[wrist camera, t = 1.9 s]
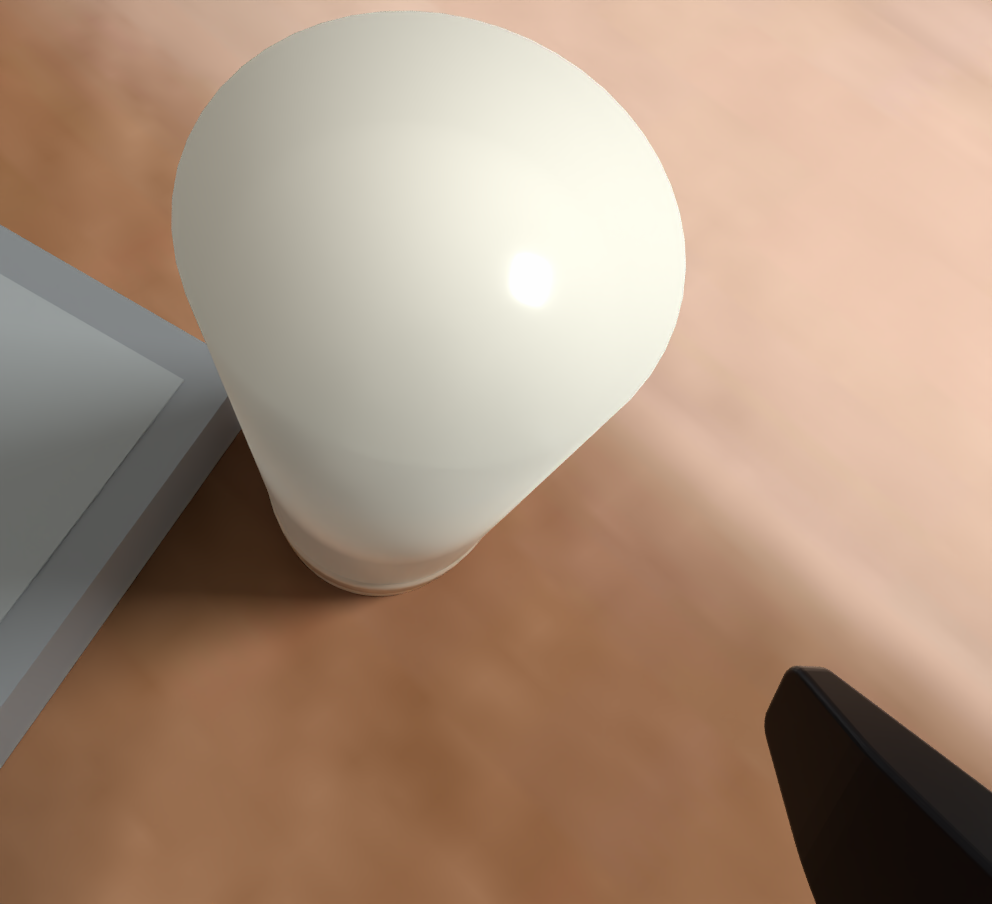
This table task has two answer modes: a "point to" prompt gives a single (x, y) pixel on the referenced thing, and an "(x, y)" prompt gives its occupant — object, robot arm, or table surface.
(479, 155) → the white cylinder
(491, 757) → the table surface
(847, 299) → the table surface
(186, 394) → the base
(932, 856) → the robot arm
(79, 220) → the table surface
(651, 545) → the table surface
